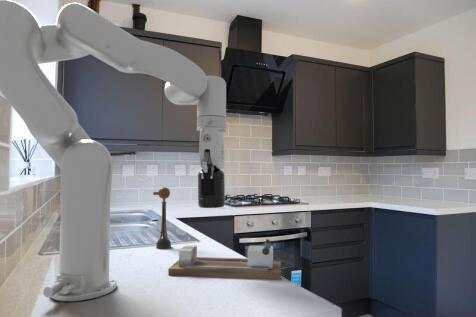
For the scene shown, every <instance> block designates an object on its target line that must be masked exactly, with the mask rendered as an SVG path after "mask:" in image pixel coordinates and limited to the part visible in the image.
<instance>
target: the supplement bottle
mask: <svg viewBox="0 0 476 317" xmlns="http://www.w3.org/2000/svg"><path fill="white" fill-rule="evenodd" d="M210 172H211V171H210ZM201 176H202V169H201V170H199V171H198V174H197V202H198V203H197V204H198V207H199V208H200V209H201V208H203V209H216V208H217V209H218V208H224V207H225V205H226V193H225V191H226V190H225V188H226V187H225V182H226V179H225V173H224V171H223V169H218V168H216V166H215V167H214V177H213V179H215V194H214V195H213V196H203V195H201V179H202V177H201Z"/></svg>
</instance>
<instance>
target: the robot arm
mask: <svg viewBox="0 0 476 317" xmlns="http://www.w3.org/2000/svg"><path fill="white" fill-rule="evenodd" d="M55 22H56V23H54V24H53V23H52V24H44V25H41V24H40V23H39V20H38V19H37V17H36V16H35V15H34V14H33V12H32V11H31V10H29V9H28V8H27V7H26V6H25V5H23V4H20V3H19V2H17V1H13V0H0V92H1V94H2V96H4V99H6V101H7V102H8V103H9V105H11V107H12V108H13V110H14V111H15V112H16V113H17V114H18V116H19V117H20V118H21V119H22V121H23V122H24V124H25V125H26V127H27V129H28V131H29V133H30V134H31V136H32V137H33V138H34V139H35V140H36V142H37V143H38V144H39V145H40V147H41V148H42V149H43V151H44V152H45V153H46V154H47V155H48V156H49V158H51V160H53V162H54V163H55V164H56V165H57V167H58V168H59V170H60V210H59V211H60V214H59V215H60V218H59V219H60V222H59V224H60V227H59V258H58V259H59V260H58V262H59V266H58V267H59V268H58V274H57V275H56V281H55V282H54V283H52V284H50V285H47V286H46V287H45V288H44V289H43V292H42V293H43V295H44V297H45V298H51V299H53V300H55V301H59V302H80V301H85V300H86V301H88V300H92V299H96V298H99V297H102V296H105V295H108V294H109V293H112V292H113V291H114V290H115V289H116V288H117V285H118V284H117V279H116V278H114V277H112V276H110V248H111V247H110V246H111V245H110V244H111V243H110V242H111V239H110V238H111V237H110V236H111V235H110V234H111V193H112V181H113V180H112V179H113V169H114V168H113V160H112V159H113V158H112V156H111V153H110V151H109V149H108V148H107V147H106V146H105V145H104V144H102V143H101V142H99V141H96V140H93V139H91V137H90V136H89V135H88V134H87V132H86V131H85V129H84V128H83V127H82V125H80V122H79V120H78V119H79V118H78V114H77V112H76V111H75V110H74V108H73V107H72V106H71V105H70V104H69V103H68V101H67V100H66V99H65V98H64V97H63V95H62V94H61V93H60V92H59V91H58V89H57V88H56V87H55V86H54V84H53V83H52V82H51V81H50V80H49V78H48V77H47V75H46V74H45V72H44V71H43V70H42V68H41V67H40V65H41V64H48V63H56V62H62V61H63V62H65V61H69V60H75V59H80V58H81V59H82V58H83V57H87V56H89V55H90V56H93V57H94V58H96V59H98V60H100V61H101V62H102V63H104V64H106V65H108V66H110V67H112V68H113V69H115V70H117V71H118V72H120V73H121V72H122V73H126V74H145V75H150V76H151V77H152V76H153V77H155V78H158V79H160V80H162V81H165V82H166V83H165V86H164V95H165V97H166V99H167V100H168V101H169V102H170V103H172V104H174V105H178V106H192V105H193V106H196V131H197V132H198V133H199V145H198V146H199V152H198V158H199V159H198V162H199V163H198V164H199V167H201V170H202V176H201V177H202V179H201V195H203V196H213V195H214V194H215V179H213V177H214V167H215V166H216V168H218V169H220V170H223V169H224V168H225V166H226V165H225V162H226V161H225V143H224V142H225V140H224V132H226V131H227V82H226V81H225V79H224V78H223V77H220V76H217V75H206V73H205V71H204V70H203V69H202V68H201V67H200V66H199V65H197V63H195V62H193V61H192V60H191V59H189V58H187V57H186V56H184V55H183V54H181V53H179V52H178V51H176V50H174V49H172V48H169V47H168V46H163V45H161V44H156V43H154V42H150V41H146V40H142V39H139V38H137V37H136V36H135V35H133V34H131V33H130V32H128V31H126V30H124V29H123V28H121V27H120V26H118V25H117V24H115V23H113V22H112V21H110V20H109V19H108V18H105V17H104V16H102V15H100V14H99V13H98V12H96V11H94V10H93V9H91V8H89V7H88V6H86V5H85V4H81V3H79V2H70V3H68V4H65V5H64V6H62V7H61V9H60V10H59V12H58V14H57V17H56V20H55ZM210 171H211V172H210Z"/></svg>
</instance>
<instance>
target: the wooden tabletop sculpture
mask: <svg viewBox="0 0 476 317" xmlns="http://www.w3.org/2000/svg"><path fill="white" fill-rule="evenodd" d="M152 195H153V196H158V197H159V198H160V199H162V201H161V226H160V235H159V239H158V240H157V241H156V245H155V248H156V250H157V249H158V250H168V249H170V248H172V243H171V240H170V239H169V238H168V232H167V201H166V199H168V198H169V197H170V195H171V190H170V189H169V187H165V186H164V187H161V188H160V189H159V190H158V191H153V193H152Z"/></svg>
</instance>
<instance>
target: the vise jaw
mask: <svg viewBox="0 0 476 317" xmlns="http://www.w3.org/2000/svg"><path fill="white" fill-rule="evenodd" d="M271 244H272V243H271V240H270V239H264V241H263V245H249V246H248V249H247V254H246V255H247V267H253V268H268V269H273V261H274V246H273V245H271Z"/></svg>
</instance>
